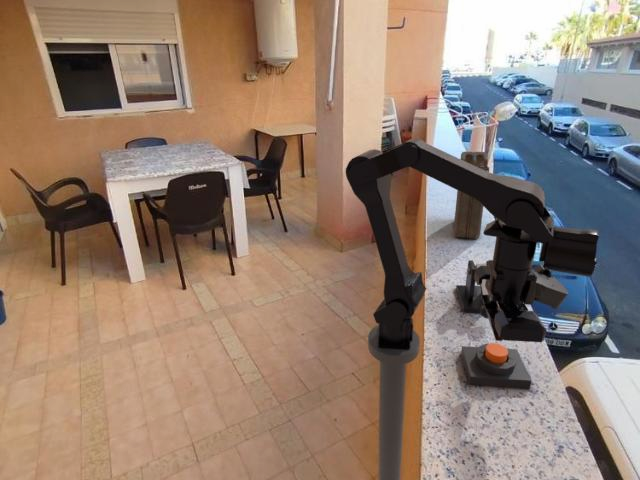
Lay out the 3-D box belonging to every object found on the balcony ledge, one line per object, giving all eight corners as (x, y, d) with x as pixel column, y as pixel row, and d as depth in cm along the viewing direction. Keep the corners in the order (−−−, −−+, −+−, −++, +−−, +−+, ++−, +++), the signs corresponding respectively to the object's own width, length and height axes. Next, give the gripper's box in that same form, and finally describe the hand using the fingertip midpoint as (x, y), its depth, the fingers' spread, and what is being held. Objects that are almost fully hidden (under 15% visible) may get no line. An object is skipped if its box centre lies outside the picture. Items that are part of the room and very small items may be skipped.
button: (487, 363, 66) (488, 355, 66) (482, 349, 70) (483, 342, 69) (509, 364, 66) (510, 357, 65) (503, 350, 69) (504, 343, 68)
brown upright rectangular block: (454, 218, 137) (460, 150, 127) (478, 220, 134) (487, 150, 124) (453, 239, 121) (460, 162, 111) (481, 241, 118) (491, 163, 108)
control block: (469, 384, 66) (471, 369, 65) (461, 353, 73) (462, 339, 72) (529, 389, 65) (533, 373, 63) (515, 356, 72) (518, 342, 70)
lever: (495, 321, 80) (498, 315, 78) (479, 320, 81) (482, 314, 78) (485, 270, 88) (488, 263, 85) (471, 270, 88) (474, 262, 86)
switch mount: (500, 313, 84) (507, 276, 80) (463, 312, 85) (467, 275, 81) (489, 290, 93) (494, 255, 89) (455, 289, 94) (459, 254, 90)
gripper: (597, 296, 50) (571, 382, 56) (544, 238, 67) (528, 310, 73) (509, 292, 52) (493, 377, 58) (478, 237, 69) (469, 308, 75)
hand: (498, 339), depth 66 cm, fingers closed
